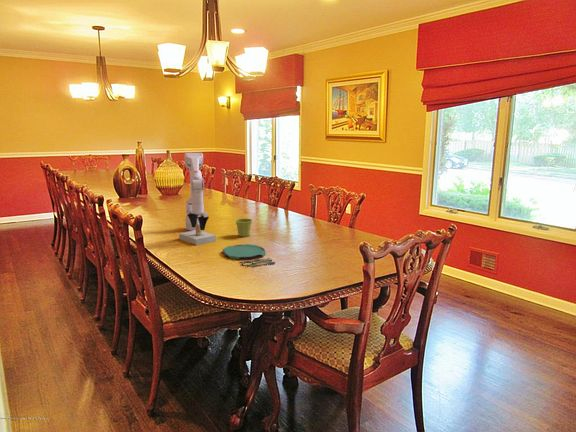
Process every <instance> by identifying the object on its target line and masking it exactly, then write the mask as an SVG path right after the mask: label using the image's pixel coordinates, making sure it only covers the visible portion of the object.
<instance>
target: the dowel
mask: <svg viewBox="0 0 576 432" xmlns="http://www.w3.org/2000/svg"><path fill="white" fill-rule="evenodd" d="M202 231H203V230H200V224H196V236H201V235H202Z"/></svg>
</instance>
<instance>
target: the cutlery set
mask: <svg viewBox="0 0 576 432" xmlns="http://www.w3.org/2000/svg"><path fill="white" fill-rule="evenodd" d="M222 254H223V255H225V256H226V257H229V258H230V259H233V260H238V259H248V260H242V261H240V262H238V264H240V265H241V266H243V265H242V264H244V265H246V264H245V263H253V264H249V266H248V267H251V268H256V267H258V266H260V265H264V266H268V265H267V264H270V265H275V264H276V261H273V259H271V258H269V257H268V258H257V257H261V256H262V257H265V255H266V250H265V248H264V247H261V246H259V245H257V244H251V243H246V244H235V245H228V246H225V247H223V248H222ZM253 258H254V259H253ZM255 258H256V259H255ZM249 259H251V260H249ZM269 259H270V260H269ZM250 261H252V262H250ZM255 261H256V262H255ZM242 262H245V263H242ZM274 263H275V264H274ZM255 266H256V267H255Z"/></svg>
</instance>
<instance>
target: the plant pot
mask: <svg viewBox="0 0 576 432" xmlns="http://www.w3.org/2000/svg"><path fill="white" fill-rule="evenodd" d="M234 221H235V223H236V226H237V228H236V229H237V234H238V237H242V238H244V237H245V238H246V237H249V236H250V235H251V227H252V222H253V219H251V218H238V219H235V220H234Z"/></svg>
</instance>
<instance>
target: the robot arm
mask: <svg viewBox="0 0 576 432" xmlns="http://www.w3.org/2000/svg"><path fill="white" fill-rule="evenodd" d="M203 164H204V154H203V153H202V152H185V153H184V166H185V168H187V169H188V171H189V181H190V183H189V186H190V187H189V189H190V197H189V198H188V199H187V200H186V201H185V213H186V216H185V227H184V229H185V230H188V231H189V232H190V231H195V230H196V224H200V230H202V231H204V230H206V224H207V222H208V220H209V215H208V212H206V211H205V206H204V189H205V180H204V179H203V176H202V175H203V174H202V171H201V170H200V168H202V166H203Z"/></svg>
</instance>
